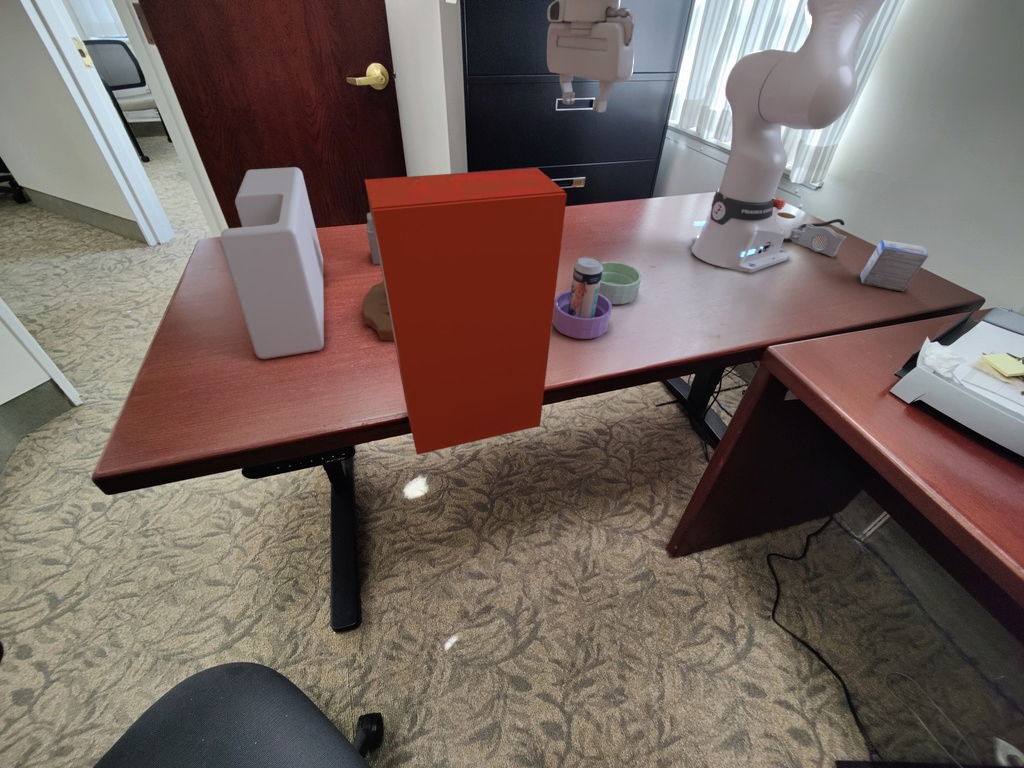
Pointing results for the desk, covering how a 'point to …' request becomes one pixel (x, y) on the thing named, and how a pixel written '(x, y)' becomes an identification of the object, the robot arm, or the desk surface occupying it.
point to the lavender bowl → (581, 326)
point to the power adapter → (372, 240)
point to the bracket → (277, 263)
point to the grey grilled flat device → (811, 233)
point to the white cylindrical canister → (585, 287)
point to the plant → (378, 312)
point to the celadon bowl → (619, 282)
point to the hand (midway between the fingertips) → (583, 107)
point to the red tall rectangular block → (469, 297)
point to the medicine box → (893, 265)
